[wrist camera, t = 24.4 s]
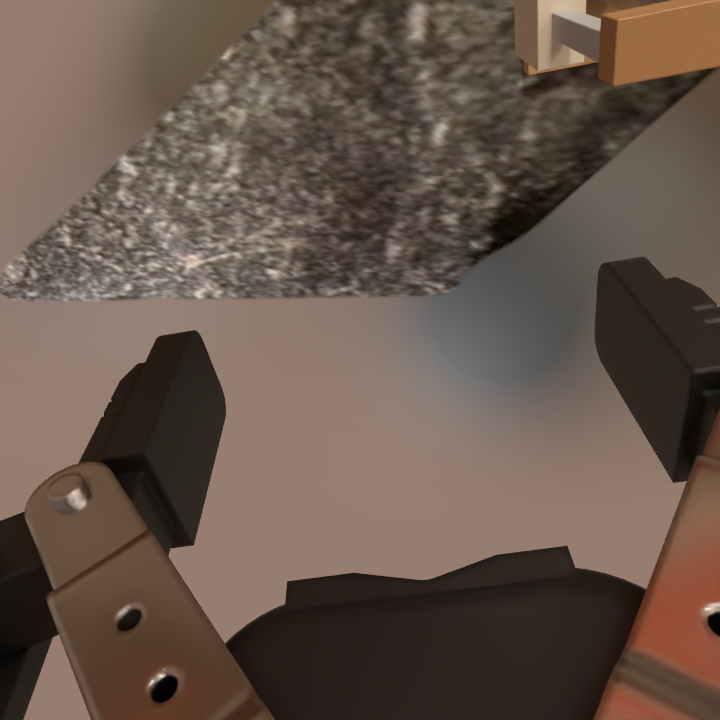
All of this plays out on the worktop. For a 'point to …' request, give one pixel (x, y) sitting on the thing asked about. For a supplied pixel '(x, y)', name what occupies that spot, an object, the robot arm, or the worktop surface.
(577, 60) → the brown blocky piece
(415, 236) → the worktop surface
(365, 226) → the worktop surface
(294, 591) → the robot arm
